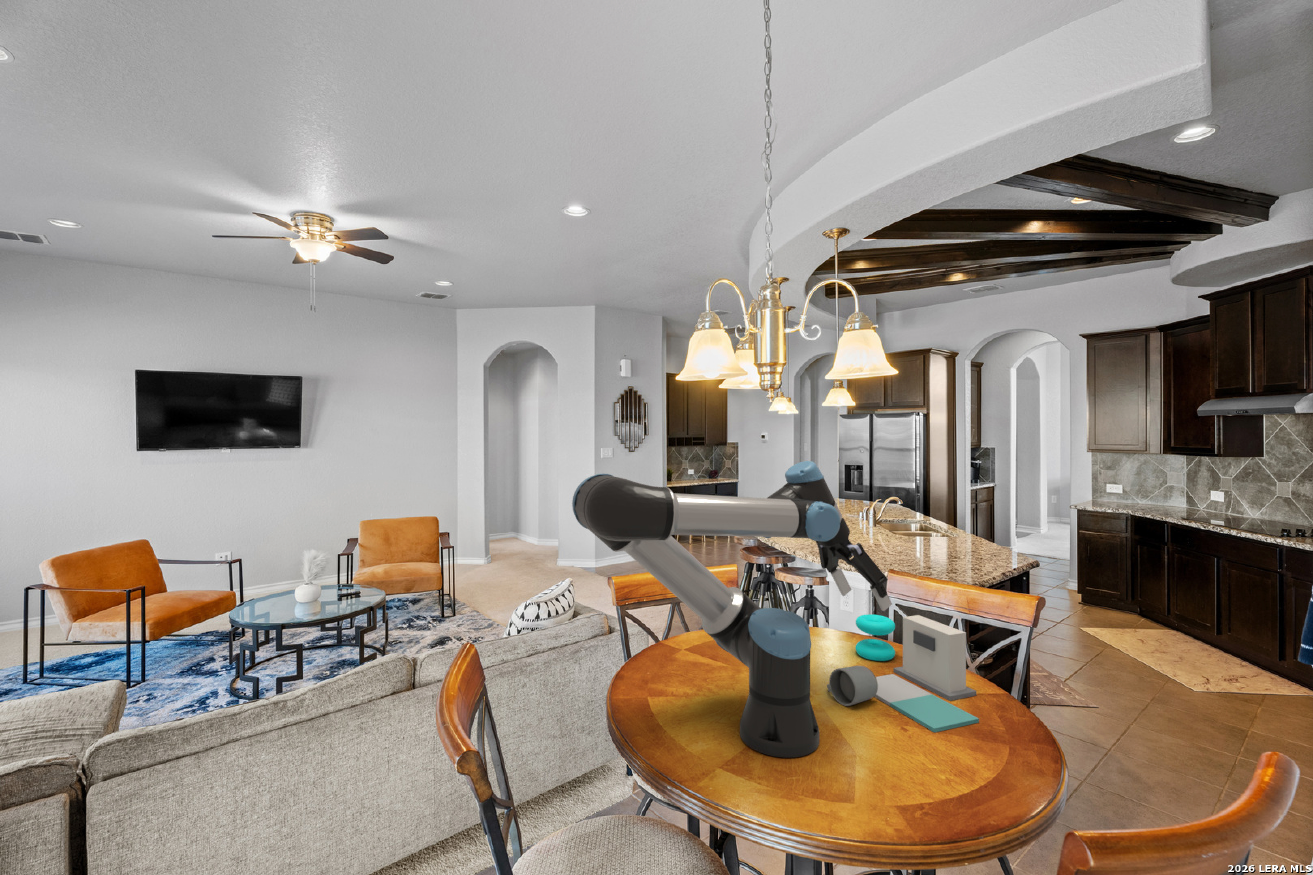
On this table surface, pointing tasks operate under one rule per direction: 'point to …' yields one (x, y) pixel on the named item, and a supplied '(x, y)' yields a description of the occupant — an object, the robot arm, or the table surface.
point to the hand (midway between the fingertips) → (866, 599)
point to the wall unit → (935, 657)
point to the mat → (921, 704)
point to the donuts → (875, 647)
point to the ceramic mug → (852, 685)
